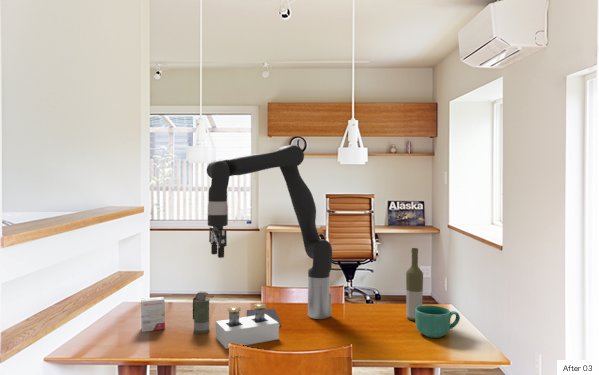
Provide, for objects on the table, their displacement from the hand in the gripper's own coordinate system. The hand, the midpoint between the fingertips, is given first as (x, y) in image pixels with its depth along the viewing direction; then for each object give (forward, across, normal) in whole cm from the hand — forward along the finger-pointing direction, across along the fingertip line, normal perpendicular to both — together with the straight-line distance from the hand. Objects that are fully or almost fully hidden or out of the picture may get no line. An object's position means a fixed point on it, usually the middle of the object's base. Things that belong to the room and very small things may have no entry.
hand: (217, 255), depth 162 cm
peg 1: (+24, -11, -3) cm, 27 cm away
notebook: (+30, +7, -22) cm, 38 cm away
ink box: (+30, +15, +21) cm, 39 cm away
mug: (+30, -40, -74) cm, 89 cm away
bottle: (+30, -22, -79) cm, 87 cm away
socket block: (+29, -11, -8) cm, 32 cm away
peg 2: (+24, -11, -13) cm, 29 cm away
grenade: (+30, +4, +5) cm, 30 cm away
